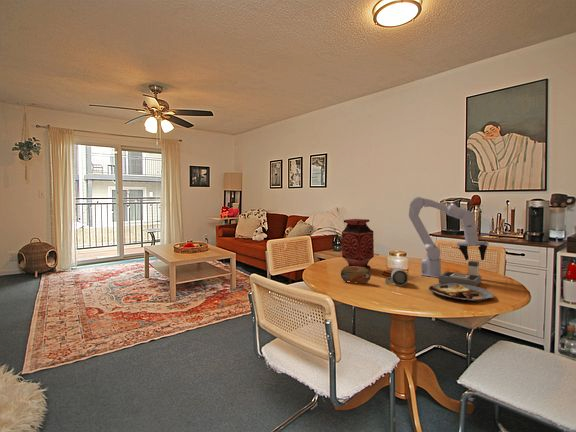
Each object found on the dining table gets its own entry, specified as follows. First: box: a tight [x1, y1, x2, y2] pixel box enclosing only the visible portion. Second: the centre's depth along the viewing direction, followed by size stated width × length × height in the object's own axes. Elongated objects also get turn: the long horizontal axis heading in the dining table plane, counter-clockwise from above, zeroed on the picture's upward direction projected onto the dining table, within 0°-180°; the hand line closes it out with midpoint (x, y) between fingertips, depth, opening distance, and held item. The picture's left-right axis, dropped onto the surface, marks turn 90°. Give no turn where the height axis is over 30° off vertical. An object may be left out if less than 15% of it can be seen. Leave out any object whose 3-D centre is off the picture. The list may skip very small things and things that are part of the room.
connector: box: [467, 260, 480, 276], centre depth 166 cm, size 4×4×9 cm
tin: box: [340, 265, 372, 284], centre depth 163 cm, size 15×3×8 cm, turn 65°
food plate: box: [428, 282, 495, 302], centre depth 140 cm, size 25×23×4 cm
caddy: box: [438, 271, 482, 287], centre depth 158 cm, size 16×12×4 cm
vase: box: [341, 218, 375, 270], centre depth 192 cm, size 14×14×30 cm
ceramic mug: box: [384, 268, 409, 287], centre depth 159 cm, size 11×8×8 cm
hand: (474, 259), depth 165 cm, fingers open, 7 cm apart
